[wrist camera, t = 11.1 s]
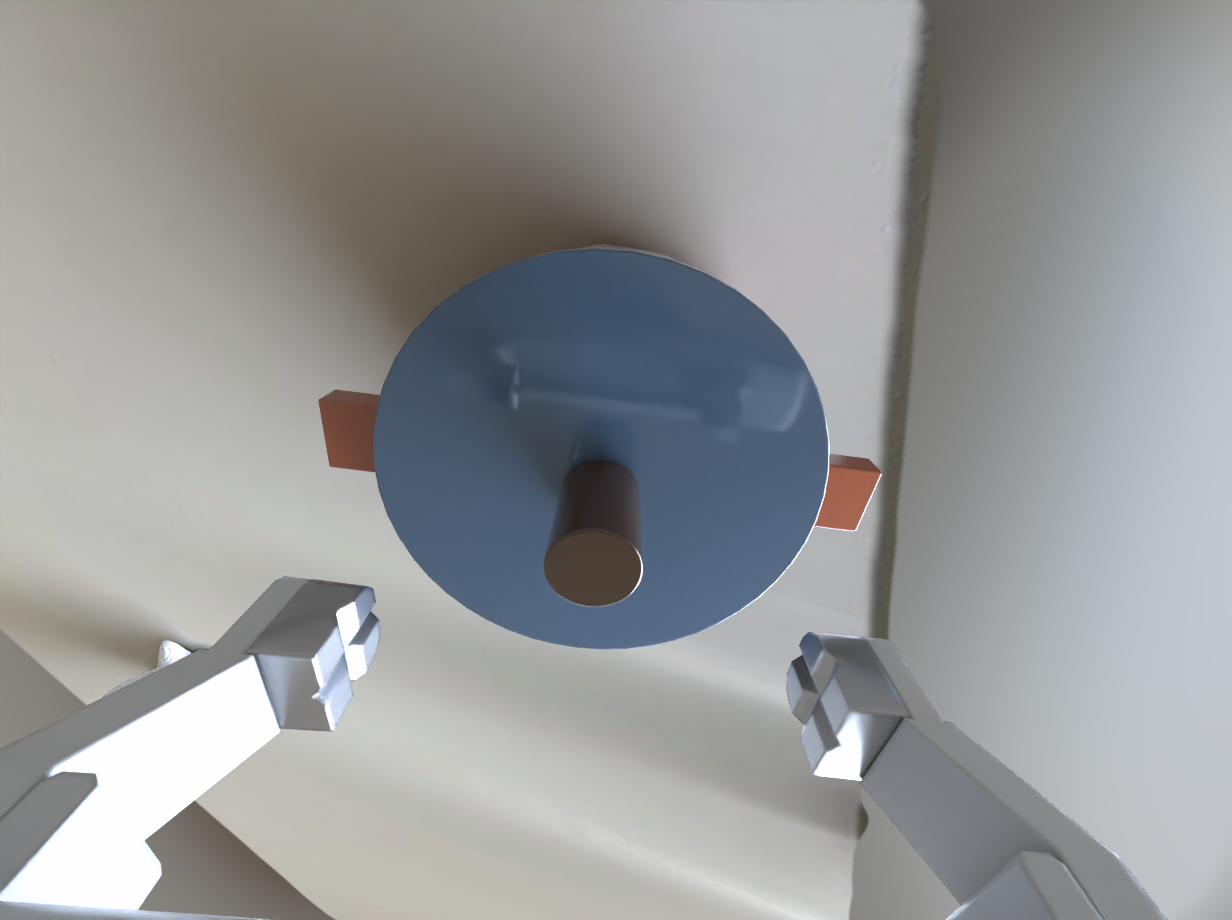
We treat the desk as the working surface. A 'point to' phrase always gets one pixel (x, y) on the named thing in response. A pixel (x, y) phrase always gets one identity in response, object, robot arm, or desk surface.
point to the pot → (355, 412)
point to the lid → (601, 448)
